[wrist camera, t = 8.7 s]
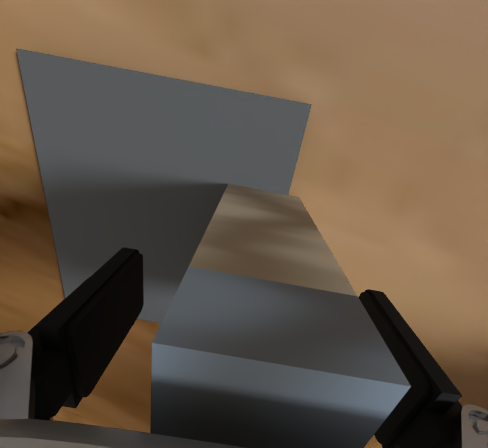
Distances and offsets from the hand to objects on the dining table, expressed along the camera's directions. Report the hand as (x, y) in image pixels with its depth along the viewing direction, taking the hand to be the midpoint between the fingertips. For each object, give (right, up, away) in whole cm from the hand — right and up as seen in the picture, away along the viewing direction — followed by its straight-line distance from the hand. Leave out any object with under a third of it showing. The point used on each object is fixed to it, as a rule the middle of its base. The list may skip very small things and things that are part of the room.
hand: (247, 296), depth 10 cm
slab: (0, +2, +4) cm, 5 cm away
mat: (-5, +3, +5) cm, 8 cm away
